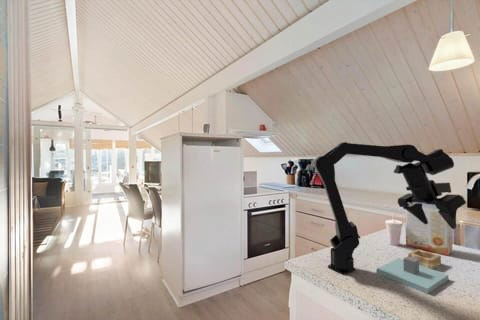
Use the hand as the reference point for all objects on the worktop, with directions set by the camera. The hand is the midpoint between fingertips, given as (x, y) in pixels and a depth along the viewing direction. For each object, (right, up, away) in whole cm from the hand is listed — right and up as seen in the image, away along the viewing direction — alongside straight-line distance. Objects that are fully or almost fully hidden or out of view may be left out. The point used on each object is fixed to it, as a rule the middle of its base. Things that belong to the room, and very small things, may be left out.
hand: (439, 226), depth 75 cm
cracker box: (+13, -15, +21) cm, 29 cm away
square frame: (+2, -16, +9) cm, 18 cm away
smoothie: (+3, -15, +27) cm, 31 cm away
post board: (-9, -16, 0) cm, 18 cm away
